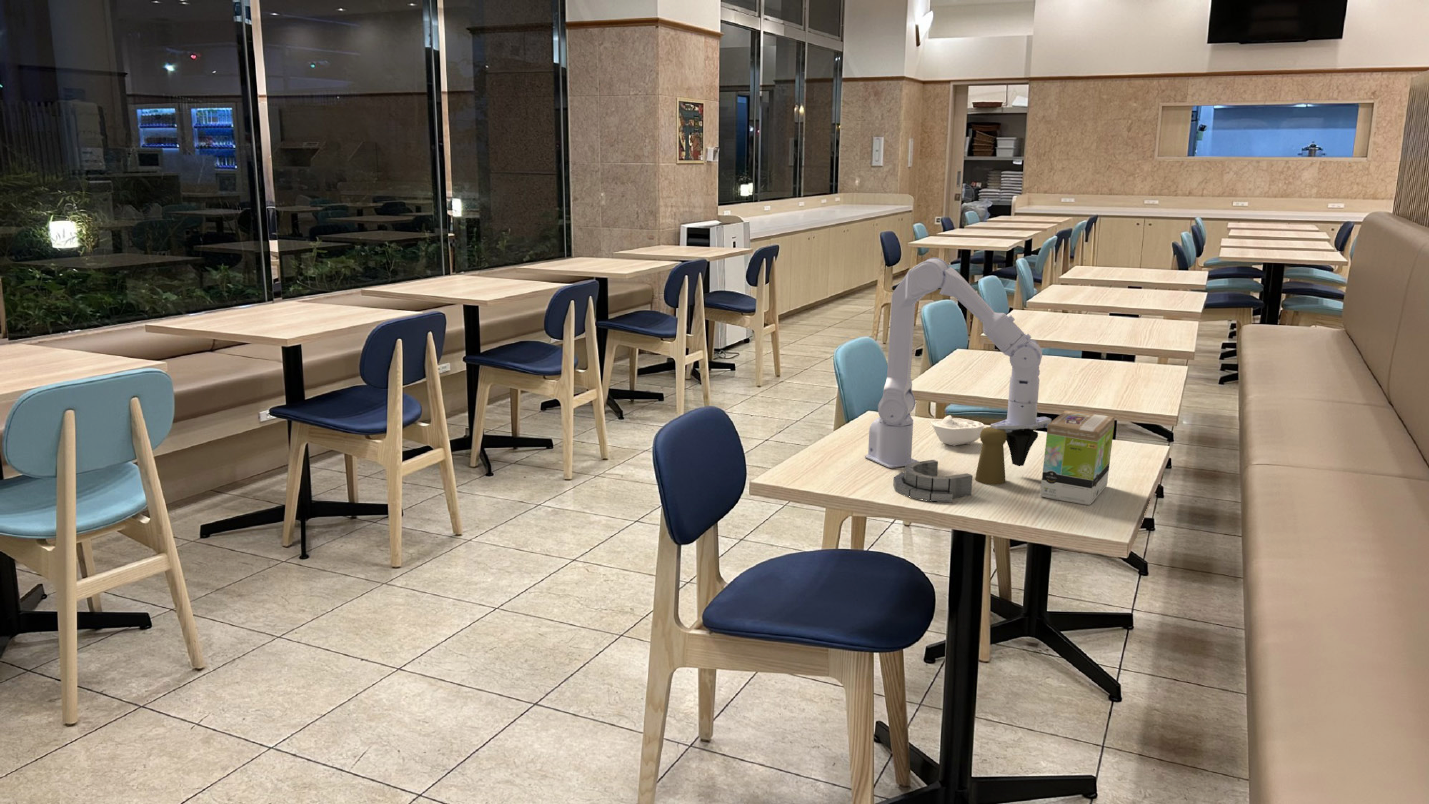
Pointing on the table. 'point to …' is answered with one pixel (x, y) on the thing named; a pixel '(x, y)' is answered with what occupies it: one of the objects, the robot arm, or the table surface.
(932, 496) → the hub collar
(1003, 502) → the table surface
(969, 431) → the cell model
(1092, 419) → the tea box
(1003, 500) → the table surface
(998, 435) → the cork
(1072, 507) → the table surface
